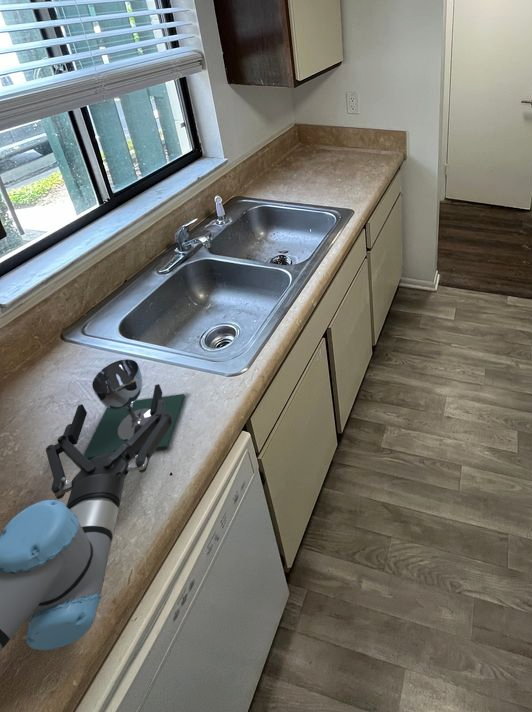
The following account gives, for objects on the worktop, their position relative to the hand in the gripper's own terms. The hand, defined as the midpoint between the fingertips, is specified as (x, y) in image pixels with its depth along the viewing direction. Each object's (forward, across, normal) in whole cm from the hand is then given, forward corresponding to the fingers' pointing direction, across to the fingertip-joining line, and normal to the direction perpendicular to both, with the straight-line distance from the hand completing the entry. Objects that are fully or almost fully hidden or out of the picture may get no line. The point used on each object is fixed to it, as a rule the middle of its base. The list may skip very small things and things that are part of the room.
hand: (121, 398), depth 88 cm
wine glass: (+1, 0, -10) cm, 10 cm away
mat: (+1, 0, -10) cm, 11 cm away
